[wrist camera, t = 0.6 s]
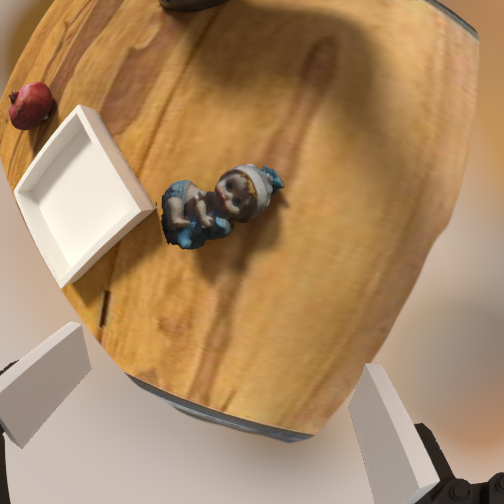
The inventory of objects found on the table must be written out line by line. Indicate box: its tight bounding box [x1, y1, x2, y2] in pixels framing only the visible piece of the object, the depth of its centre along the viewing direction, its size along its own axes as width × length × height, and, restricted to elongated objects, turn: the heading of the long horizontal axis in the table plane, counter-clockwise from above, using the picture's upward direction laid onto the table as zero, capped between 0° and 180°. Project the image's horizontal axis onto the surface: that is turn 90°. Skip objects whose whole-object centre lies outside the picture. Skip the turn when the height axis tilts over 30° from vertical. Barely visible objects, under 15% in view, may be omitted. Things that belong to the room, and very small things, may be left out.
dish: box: [14, 104, 157, 289], centre depth 34 cm, size 20×20×5 cm
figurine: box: [155, 164, 284, 250], centre depth 32 cm, size 9×8×15 cm
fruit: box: [9, 82, 53, 130], centre depth 29 cm, size 9×10×10 cm
